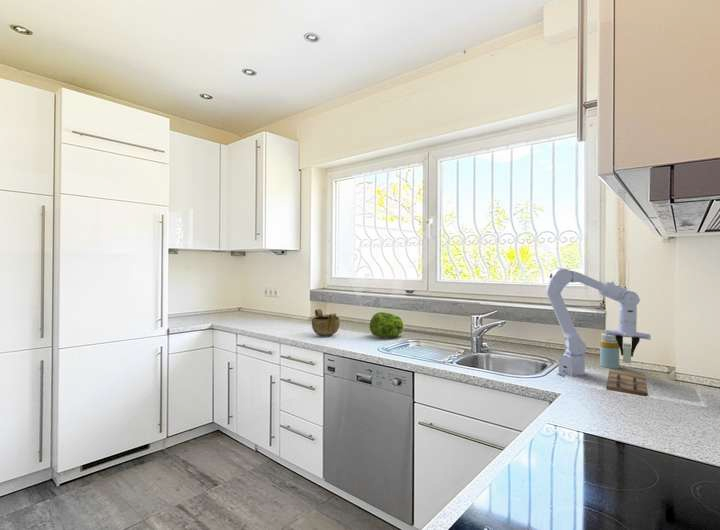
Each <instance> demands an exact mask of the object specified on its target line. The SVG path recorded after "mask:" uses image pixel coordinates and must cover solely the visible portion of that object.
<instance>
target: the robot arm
mask: <svg viewBox="0 0 720 530" xmlns="http://www.w3.org/2000/svg"><path fill="white" fill-rule="evenodd" d="M569 283H580V284H582V285H585V286H588V287H590V288H593V289H595V290H597V291H598V293H599V295H601V296H603V297H605V298H608V299H610V300H613V301H615V302H618V303H619V307H618V330H615V329H614V330H613V329H605V332H604V333H605V335H611V336H615V338H616V340H617V342H618V345H619V348H620V351H619V352H620V356H623V342H624V338H631V358H634V353H635V350H636V347H637V345H638V344H639V343H640V341H641V339H643V340H649V341H650V340H652V338H651V337H652V335H651V333H646V332H645V333H644V332H638V331H637V325H638V324H637V317H638V314H637V313H638V308H637V307H638V306H637V305H638V304H639V303H640V301H641V298H640V296H639V295H638V293H636V292H635V291H631V290H628V288H627V287H621V286H619V285H617V284H615V282H614V281H604V282H601V281H598V280H596V279H594V278H592V277H590V276H588V275H585V274H583V273H581V272H578V271H575V270H570V269H568V268H563V267H562V268H561V267H556V268H555V269H553V270H552V271H551V273H550V274H549V275H548V282H547V285H546V291H545V292H546V295H547V297H548V300H549V302H550V305H551V307H552V309H553V311H554V314H555V316H556V319H557V321H558V324H559V326H560V328H561V331H562V336H563V338H564V339H563V343H564V347H565V348H566V349H564V354H562V355H560V357H558V358H559V359H558V372H556V374H557V375H559V376H564V377H566V376H567V375H568V376H570V377H575V376H584V375H585V373H586V351H587V345H586V342H584V340H583V339H582V338H581V337H580V334H579V333H578V331H577V330H576V327H575V324H574V322H573V319H572V318H571V317H572V316H571V315H570V312H569V310H568V308H567V306H566V304H565V301H564V298H563V296H562V294H561V293H562V292H563V289H564V288H565V287H566V286H567V285H568V284H569Z"/></svg>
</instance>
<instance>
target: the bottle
mask: <svg viewBox="0 0 720 530" xmlns="http://www.w3.org/2000/svg"><path fill="white" fill-rule="evenodd" d="M600 338H601V342H600V344H599V347H600V348H599V366H600V367H602V368H605V369H609V370H616V369H617V370H619V369H620V352H621V351H620V347H619V345H618V342H617V340H616V338H615V336H611V335H605V332H604V333H603V332H602V333H601V335H600Z"/></svg>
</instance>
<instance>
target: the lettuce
mask: <svg viewBox="0 0 720 530" xmlns="http://www.w3.org/2000/svg"><path fill="white" fill-rule="evenodd" d="M404 329H405V324H404V321H403V319H402V318H401V317H400V316H398V315H397V314H396V315H395V314H393V313H388V312H381V311H379V312H377V313H375V314H373V315H372V317H371V319H370V321H369V331H370V333H371V334H372V335H373V336H376V337H378V338H382V339H391V338H395V337H398V336H399V335H400V334H402V333H403V332H404Z"/></svg>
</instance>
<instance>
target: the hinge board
mask: <svg viewBox="0 0 720 530" xmlns="http://www.w3.org/2000/svg"><path fill="white" fill-rule="evenodd" d="M646 379H647V378H646V375H645V374H643V373H634V372H628V371H621V370H616V369H609V370H608V376H607V380H606V385H605V387H606V388H605V389H606V391H612V392H618V393H625V394H628V395H629V394H630V395H635V396H639V397H641V396H642V397H646V396H649V395H648V388H647V380H646Z"/></svg>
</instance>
